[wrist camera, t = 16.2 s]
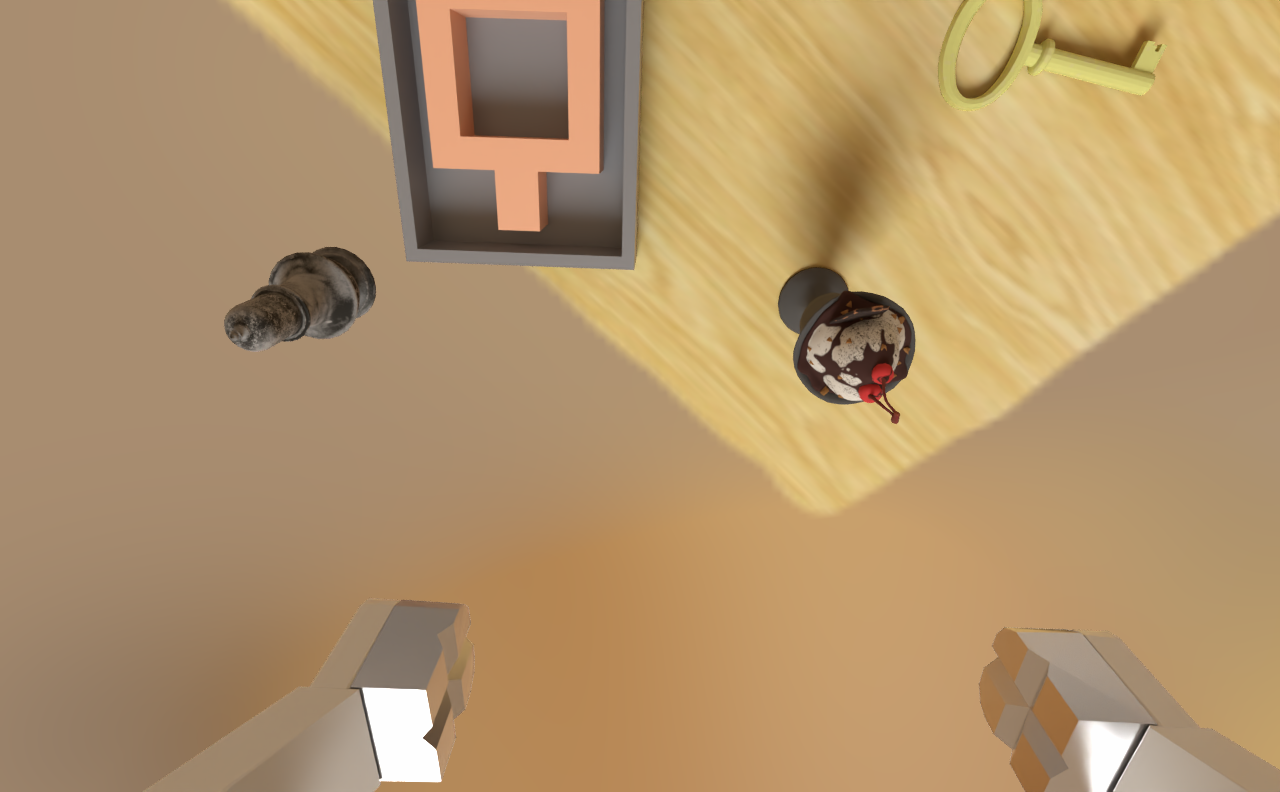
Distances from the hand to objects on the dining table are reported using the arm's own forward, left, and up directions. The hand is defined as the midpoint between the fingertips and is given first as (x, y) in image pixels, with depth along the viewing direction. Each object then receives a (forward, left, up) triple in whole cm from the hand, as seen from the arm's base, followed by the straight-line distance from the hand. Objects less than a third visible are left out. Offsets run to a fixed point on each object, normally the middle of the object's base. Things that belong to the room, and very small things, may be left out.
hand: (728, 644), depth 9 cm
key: (-21, -12, -36) cm, 43 cm away
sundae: (-10, +4, -35) cm, 37 cm away
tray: (+10, -8, -35) cm, 37 cm away
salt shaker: (+24, +4, -35) cm, 43 cm away
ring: (+10, -8, -34) cm, 36 cm away
